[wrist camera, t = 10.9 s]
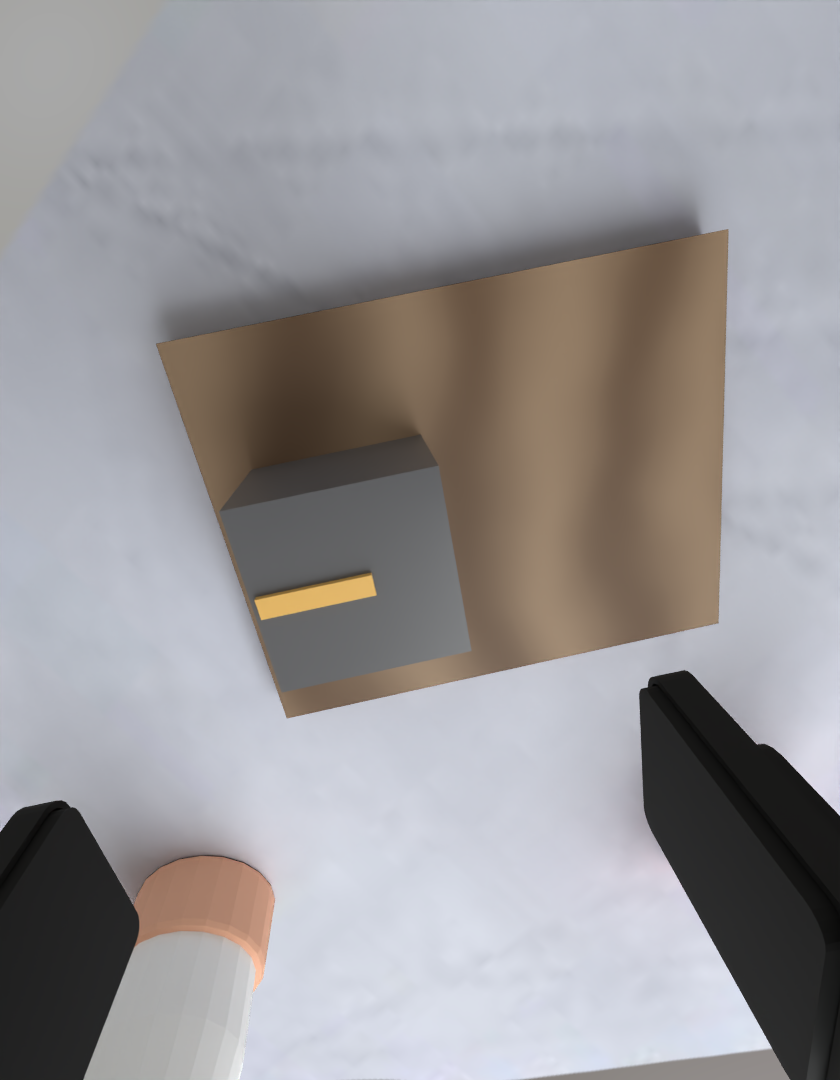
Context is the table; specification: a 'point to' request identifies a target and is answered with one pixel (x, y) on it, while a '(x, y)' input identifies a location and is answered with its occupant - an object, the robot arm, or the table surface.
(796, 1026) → the robot arm
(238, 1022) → the pepper shaker
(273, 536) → the grey cube with stripe
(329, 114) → the table surface
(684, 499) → the base plate
